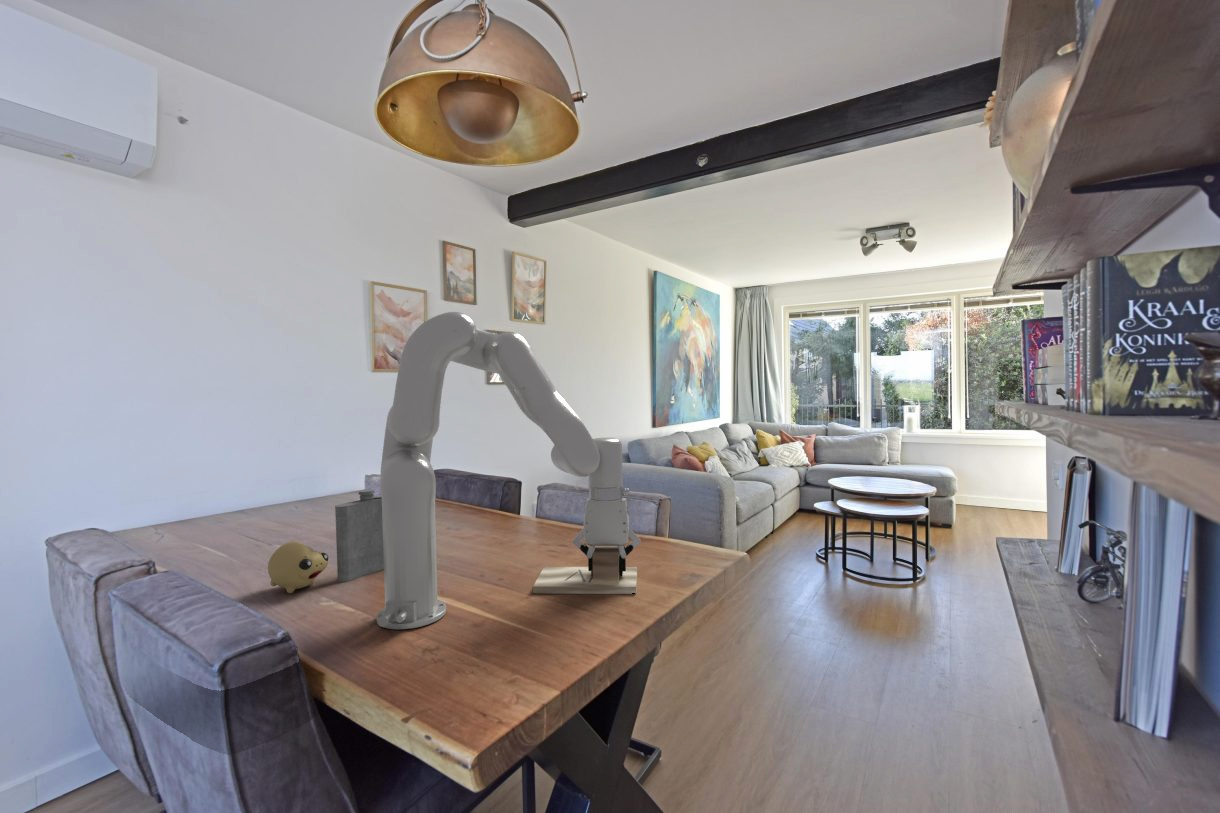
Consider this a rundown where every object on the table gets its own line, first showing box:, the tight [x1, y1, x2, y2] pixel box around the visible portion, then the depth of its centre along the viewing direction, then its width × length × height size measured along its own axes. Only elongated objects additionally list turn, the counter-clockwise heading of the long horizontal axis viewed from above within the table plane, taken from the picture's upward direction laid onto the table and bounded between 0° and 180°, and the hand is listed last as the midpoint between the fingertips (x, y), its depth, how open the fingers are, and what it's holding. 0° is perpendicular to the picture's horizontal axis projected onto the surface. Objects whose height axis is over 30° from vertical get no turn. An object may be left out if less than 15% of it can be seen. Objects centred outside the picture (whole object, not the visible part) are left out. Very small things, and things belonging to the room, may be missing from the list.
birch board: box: [532, 566, 638, 595], centre depth 123 cm, size 13×22×2 cm, turn 86°
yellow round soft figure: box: [267, 540, 329, 594], centre depth 122 cm, size 10×12×11 cm
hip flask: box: [334, 488, 384, 583], centre depth 133 cm, size 16×4×20 cm, turn 145°
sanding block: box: [592, 546, 620, 584], centre depth 122 cm, size 10×6×6 cm, turn 176°
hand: (607, 573), depth 122 cm, fingers closed on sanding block, 5 cm apart
